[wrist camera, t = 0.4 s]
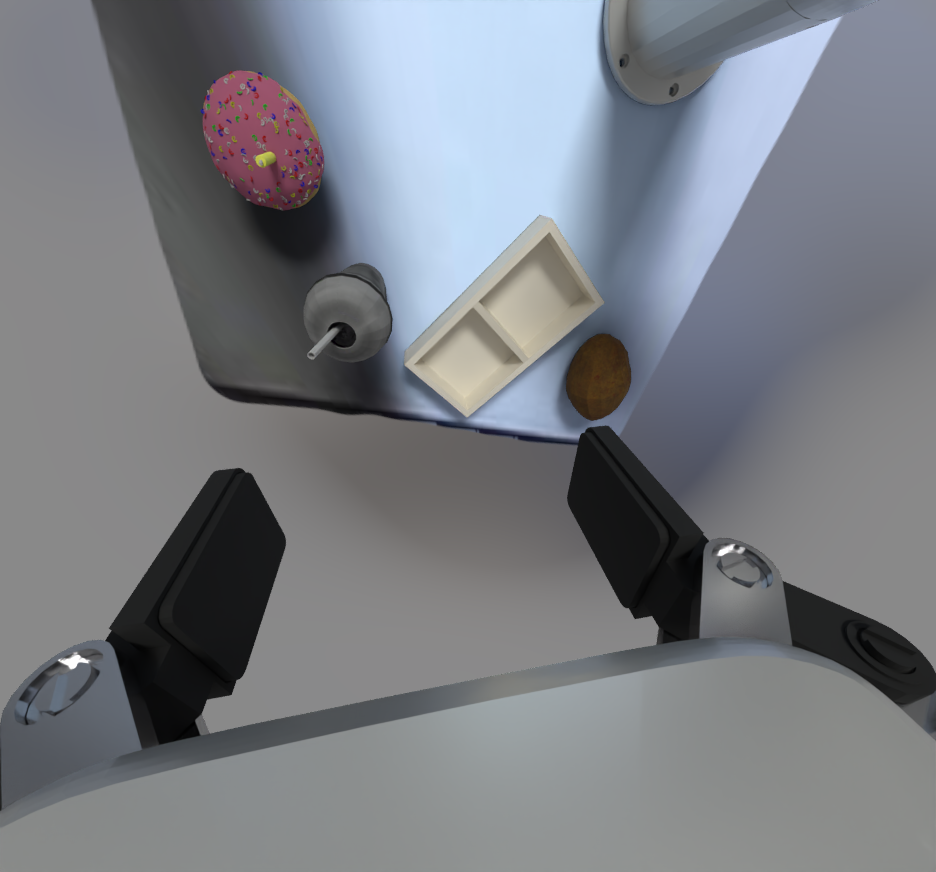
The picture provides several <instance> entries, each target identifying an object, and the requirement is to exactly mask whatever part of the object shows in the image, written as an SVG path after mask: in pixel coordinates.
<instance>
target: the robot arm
mask: <svg viewBox="0 0 936 872" xmlns="http://www.w3.org/2000/svg"><path fill="white" fill-rule="evenodd" d="M876 1H878V0H605V8H604V20H603V24H604V44H605V49H606V55H607V60H608V63H609V66H610V69H611V71H612V74H613V77H614V78H615V80H616V82H617V83H618V85H619V86H620V88H621V89H622V90H623V91H624V92H625V93H626V94H627V95H628V96H629V97H630V98H632V99H634V100H635V101H637V102H639V103H642V104H647V105H663V104H667V103H671V102H674V101H677V100H679V99H681V98H683V97H685V96H687V95H689V94H690V93H692V92H693V91H695V90H696V89H697V88H699V87H700V86H702V85H703V84H704V83H705V82H706V81H707V80H708V79H709V78H710V77H711V76H712V75H713V74H714V73H715V72H716V70H717V69H718V68H719V66H720V65H721V64H722V63H723V61H724V60H726V59H728V58H731V57H734V56H736V55H739V54H742V53H744V52H747V51H750V50H752V49H755V48H758V47H760V46H763V45H766V44H768V43H771V42H774V41H776V40H779V39H782V38H784V37H787V36H790V35H792V34H795V33H798V32H800V31H803V30H806V29H808V28H811V27H814V26H816V25H819V24H822V23H824V22H827V21H830V20H832V19H835V18H838V17H840V16H843V15H845V14H847V13H850V12H853V11H855V10H858V9H860V8H863V7H865V6H867V5H870V4H872V3H874V2H876ZM620 60H621V61H622V66H621V67H620V63H619V62H620ZM669 90H670V94H669ZM567 499H568V505H569V507H570V509H571V511H572V513H573V515H574V517H575V518H576V520H577V522H578V524H579V526H580V528H581V530H582V532H583V533H584V535H585V537H586V539H587V541H588V543H589V545H590V547H591V549H592V550H593V552H594V554H595V556H596V558H597V560H598V562H599V564H600V565H601V567H602V569H603V571H604V573H605V575H606V577H607V579H608V580H609V582H610V584H611V586H612V588H613V590H614V592H615V593H616V595H617V597H618V599H619V601H620V603H621V604H622V605H623V606H624V607H625V608H629V609H630V611H631V613H632V615H633V617H634V618H635V619H638V618H643V617H649V616H653V618H654V620H655V621H656V623H657V625H658V626H659V630H658V637H657V644H656V645H654V646H648V647H642V648H637V649H631V650H625V651H620V652H614V653H609V654H603V655H599V656H593V657H588V658H583V659H578V660H572V661H567V662H562V663H558V664H552V665H547V666H541V667H536V668H532V669H526V670H521V671H516V672H510V673H505V674H501V675H495V676H490V677H486V678H480V679H475V680H470V681H465V682H460V683H455V684H450V685H445V686H440V687H435V688H430V689H425V690H420V691H415V692H409V693H405V694H400V695H394V696H390V697H385V698H379V699H374V700H370V701H364V702H360V703H355V704H350V705H345V706H340V707H335V708H330V709H325V710H320V711H316V712H310V713H306V714H301V715H296V716H291V717H286V718H281V719H276V720H271V721H266V722H261V723H256V724H252V725H247V726H243V727H238V728H234V729H229V730H225V731H220V732H215V733H211V734H210V733H209V731H208V728H207V726H206V724H205V721H204V719H203V716H202V711H203V709H204V706H205V704H206V701H207V699H212V698H218V697H223V696H228V695H232V692H233V689H234V686H235V683H236V680H238V679H240V678H241V677H242V676H243V674H244V672H245V670H246V667H247V665H248V661H249V658H250V655H251V652H252V649H253V646H254V642H255V640H256V636H257V634H258V630H259V627H260V624H261V621H262V618H263V615H264V612H265V609H266V606H267V603H268V600H269V596H270V593H271V590H272V587H273V584H274V581H275V578H276V575H277V571H278V568H279V565H280V562H281V559H282V556H283V553H284V550H285V546H286V539H285V535H284V533H283V532H282V529H281V527H280V526H279V524H278V522H277V520H276V518H275V517H274V514H273V513H272V511H271V509H270V507H269V505H268V504H267V501H266V500H265V498H264V496H263V494H262V492H261V490H260V488H259V487H258V485H257V483H256V481H255V479H254V477H253V476H252V474H251V473H245V471H244V470H243V469H241V468H236V469H227V470H218V471H215V472H214V473H213V474H212V475H211V476H210V478H209V479H208V481H207V482H206V484H205V485H204V487H203V488H202V490H201V491H200V493H199V494H198V496H197V497H196V499H195V500H194V502H193V503H192V505H191V506H190V508H189V509H188V511H187V512H186V514H185V515H184V517H183V518H182V520H181V521H180V523H179V524H178V526H177V527H176V529H175V530H174V532H173V533H172V535H171V536H170V538H169V539H168V541H167V542H166V544H165V545H164V547H163V548H162V550H161V551H160V553H159V554H158V556H157V557H156V559H155V560H154V562H153V563H152V565H151V566H150V568H149V569H148V571H147V572H146V574H145V575H144V577H143V578H142V580H141V581H140V583H139V584H138V586H137V587H136V589H135V590H134V592H133V593H132V595H131V596H130V598H129V599H128V601H127V602H126V604H125V605H124V607H123V608H122V610H121V611H120V613H119V614H118V616H117V617H116V619H115V620H114V622H113V623H112V625H111V626H110V628H109V629H111V630H112V631H111V633H110V634H109V636H108V637H107V639H106V640H105V641H103V640H92V641H86V642H83V643H80V644H78V645H74V646H73V647H70V648H68V649H66V650H64V651H63V652H61V653H59V654H57V655H56V656H54V657H53V658H51V659H50V660H48V661H47V662H45V663H44V664H43V665H41V666H40V667H39V668H38V669H37V670H35V671H34V672H33V673H32V674H31V675H30V676H29V677H28V678H27V679H25V680H24V682H23V683H22V684H21V685H20V686H19V688H18V689H17V690H16V691H15V692H14V694H13V695H12V696H11V698H10V699H9V701H8V703H7V705H6V707H5V708H4V710H3V713H2V718H1V723H0V872H936V673H935V671H934V669H933V667H932V665H931V664H930V662H929V661H928V660H927V659H926V657H924V655H923V654H922V653H921V652H920V651H919V650H918V649H917V648H916V647H915V646H914V645H913V644H912V643H910V642H909V641H908V640H907V639H906V638H904V637H903V636H901V635H900V634H898V633H897V632H895V631H894V630H893V629H891V628H889V627H887V626H885V625H883V624H881V623H879V622H877V621H875V620H873V619H871V618H868V617H866V616H864V615H861V614H859V613H857V612H854V611H852V610H850V609H847V608H845V607H843V606H840V605H838V604H835V603H833V602H831V601H829V600H826V599H824V598H821V597H819V596H816V595H814V594H812V593H809V592H807V591H805V590H803V589H800V588H797V587H796V586H793V585H791V584H789V583H786V582H784V581H783V580H782V577H781V575H780V572H779V570H778V569H777V568H776V566H775V565H774V564H773V562H772V561H771V560H770V559H769V558H767V557H766V556H765V555H764V554H763V553H762V552H760V551H758V550H757V549H755V548H754V547H752V546H750V545H748V544H746V543H743V542H741V541H738V540H734V539H730V538H717V539H713V540H711V541H709V540H708V539H707V538H706V537H705V536H704V535H703V532H702V531H701V530H700V528H699V527H698V526H697V525H696V524H695V523H694V522H693V520H692V519H691V518H690V517H689V516H688V515H687V514H686V513H685V512H684V510H683V509H682V508H681V507H680V506H679V505H678V504H677V502H676V501H675V500H674V499H673V498H672V497H671V496H670V495H669V493H668V492H667V491H666V490H665V489H664V488H663V487H662V485H661V484H660V483H659V482H658V481H657V480H656V479H655V478H654V477H653V475H652V474H651V473H650V472H649V471H648V470H647V469H646V467H645V466H643V464H642V463H641V462H640V461H639V460H638V458H637V457H636V456H635V455H634V454H633V453H632V452H631V451H630V449H629V448H628V447H627V446H626V445H625V444H624V443H623V441H621V439H620V438H619V437H618V436H617V435H616V434H615V432H614V431H613V430H612V429H611V428H610V427H609V426H598V427H589V428H587V429H586V431H585V433H582V434H581V435H580V439H579V443H578V448H577V454H576V458H575V462H574V467H573V472H572V476H571V482H570V486H569V491H568V497H567Z"/></svg>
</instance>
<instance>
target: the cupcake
mask: <svg viewBox="0 0 936 872" xmlns="http://www.w3.org/2000/svg"><path fill="white" fill-rule="evenodd" d="M202 111H203V112H202ZM201 113H202V114H203V130H204V135H205V139H206V143H207V146H208V148H209V151H210V154H211V157H212V159H213V162H214V164H215V166H216V168H217V169H218V170H219V172H220V173H221V174H222V175H223V177H224V179H226V180H227V181H228V182H229V183H230V186H231V187H232V188H235V189H236V190H237V191H239V192H240V193H241V194H242V195H243V196H244V197H245V198H247V200H248V201H251V202H252V203H254V204H256V205H260V206H266V207H271V208H274V209H278V210H281V211H283V210H290V209H294V208H298V207H301V206H303V205H305V204H306V203H307V202H309V201H310V200H311V199H312V198H313V197H314V196H315V194H316V193H317V192H318V190H319V186H320V182H321V177H322V174H323V170H324V155H323V150H322V147H321V145H320V142H319V138H318V134H317V131H316V129H315V127H314V125H313V123H312V121H311V120H310V118H309V116H308V114H307V112H306V110H305V109H304V107H303V106H302V104H301V103H300V102H299V101H298V99H297V98H296V97H295V96H293V95H292V94H291V93H290V92H289V91H287V90H286V89H285V88H283V87H282V86H280V85H279V84H278V83H277V82H276V81H274V80H273V79H271V78H269V77H267V76H264V75H262V73H260V72H259V73H258V74H257V73H254V72H250V71H234V72H232V71H231V72H230V73H229V74H228V75H226V76H224V77H222V78H220V79H218V80H217V81H216V82H215V80H214V84H213V85H212V86H211V88H210V90H209V91H207V96H205V102H204V108H203V109H202V110H201Z"/></svg>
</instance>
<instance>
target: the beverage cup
mask: <svg viewBox="0 0 936 872" xmlns="http://www.w3.org/2000/svg"><path fill="white" fill-rule="evenodd" d="M392 319H393V318H392V314H391V311H390V307H389V304H388V302H387V297H386V287H385V284H384V280H383V277H382V276H381V274H380V272H379V271H378V270H377V269H375V268H374V267H373V266H371V265H369V264H364V263H358V264H354V265H351V266H350V267H348V268H346V269H344V270H343V271H341V272H340V273H336V274H330V275H326V276H325V277H323V278H321V279H319V280H318V281H316V282H315V283H314V284H313V286H312V287H311V288H310V290H309V291H308V292H307V296H306V300H305V303H304V323H305V327H306V329H307V332H308V334H309V336H310V339H311V340H312V341H313V343H314V344H315V345H316V346H315V347H314V348H313V349H312V350H311V351H310V352H309V353H308V354H307V355H308V358H310V359H314V358H315V357H316V356H317V355H318V354H319V353H320V352H321V351H322V352H324V353H325V354H326V355H328V356H329V357H332V358H334V359H337V360H339V361H345V362H358V361H363V360H366V359H368V358H370V357H372V356H374V355H375V354H376V353H377V352H378V351H379V350H380V349H381V348H382V347H383V346H384V345H385V344H386V343H387V341H388V338H389V336H390V334H391V331H392Z"/></svg>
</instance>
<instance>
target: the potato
mask: <svg viewBox="0 0 936 872" xmlns="http://www.w3.org/2000/svg"><path fill="white" fill-rule="evenodd" d="M630 384H631V368H630V364H629V358H628V352H627V351H626V349H625V347H624V345H623V344H622V343H621V341H620V340H618V339H616V338H614V337H613V336H611V335H610V334H597V335H595V336H593V337H592V338H590V339H588V340H587V341H586V342H585V343H584V344H583V345H582V346H581V347H580V348H579V350H578V351H577V353H576V355H575V356H574V358H573V360H572V363H571V365H570V369H569V372H568V375H567V381H566V391H567V395H568V398H569V400H570V401H571V403H572V405H573V406H574V407H575V409H576V410H577V411H578V412H579V413H580V414H581V415H582V416H583V417H584V418H586V419H589V420H591V421H593V420H597V419H602V418H604V417H605V416H607V415H609V414H611V413H612V412H613V411H614V410H615V409H616V408H618V406H619V405H620V403H621V402H622V401H623V399H624V397H625V396H626V394H627V392H628V390H629V387H630Z"/></svg>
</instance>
